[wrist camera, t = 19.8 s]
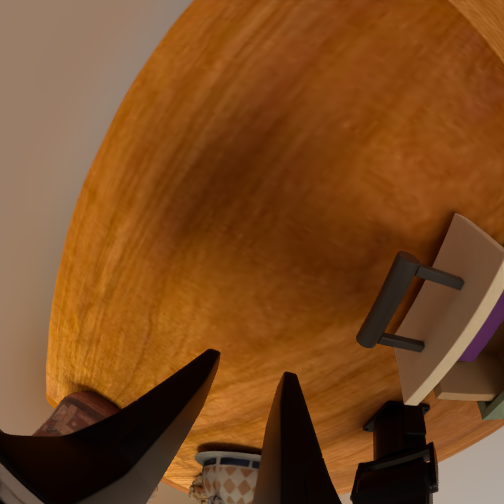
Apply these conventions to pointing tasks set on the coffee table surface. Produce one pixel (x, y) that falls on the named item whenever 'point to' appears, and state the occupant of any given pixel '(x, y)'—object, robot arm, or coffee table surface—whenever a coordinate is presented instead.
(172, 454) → the robot arm
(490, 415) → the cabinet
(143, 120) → the coffee table surface
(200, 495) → the mineral formation
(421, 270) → the drawer
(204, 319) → the coffee table surface
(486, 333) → the purple box
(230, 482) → the patterned domed piece
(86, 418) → the pottery
